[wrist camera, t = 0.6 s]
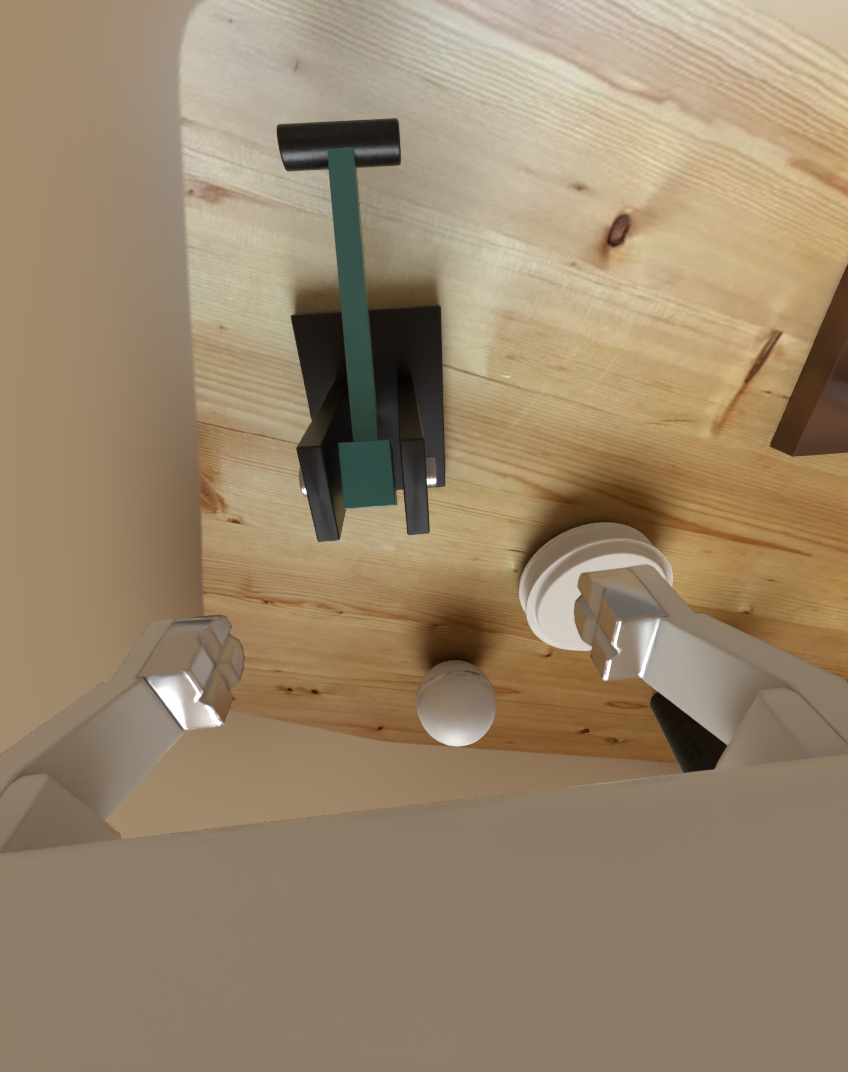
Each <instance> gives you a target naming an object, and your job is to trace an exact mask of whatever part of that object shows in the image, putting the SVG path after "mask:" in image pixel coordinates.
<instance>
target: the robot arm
mask: <svg viewBox="0 0 848 1072" xmlns="http://www.w3.org/2000/svg"><path fill="white" fill-rule="evenodd" d="M577 587H578V589H579V591H580V592H581V595H580V596H579V597H578V598H577V599H576V600H575V605H574V618H575V624H576V627H577V630H578V633H579V635H580V637H581V639H582V641H584V642H585V643H587V644H588V645H590V646H591V647H592V650H591V656H590V657H591V658H592V660H593V662H594V664H595V666H596V668H597V670H598V672H599V674H600V676H601V677H602V679H603V681H608V680H620V679H631V678H642V677H643V679H642V680H644V681H645V682H646V683H648V684H649V685H650V686H651V687H653V688H654V689H655V690H657V691H658V692H659V693H661V694H662V695H663V696H664V697H666V698H667V699H668V700H670V701H671V702H672V703H673V704H675V705H676V706H677V707H679V708H680V709H681V710H682V711H684V712H685V713H686V714H688V715H689V716H690V717H692V718H693V719H694V720H695V721H697V722H698V723H699V724H701V725H702V726H703V727H704V728H706V729H707V730H708V731H710V732H711V733H712V734H714V735H715V736H716V737H717V738H719V739H720V740H721V741H723V742H724V743H725V744H726V745H727V747H726V749H725V750H724V752H723V754H722V755H721V757H720V759H719V760H718V762H717V765H716V767H715V769H714V770H705V771H697V772H688V773H680V774H672V775H663V776H656V777H646V778H638V779H629V780H621V781H613V782H604V783H595V784H586V785H578V786H569V787H561V788H553V789H544V790H536V791H527V792H519V793H509V794H501V795H493V796H484V797H475V798H467V799H459V800H450V801H442V802H433V803H425V804H416V805H407V806H399V807H390V808H382V809H373V810H365V811H356V812H349V813H339V814H332V815H322V816H315V817H305V818H297V819H289V820H280V821H271V822H263V823H256V824H246V825H238V826H229V827H221V828H212V829H204V830H195V831H187V832H178V833H170V834H161V835H153V836H144V837H136V838H127V839H122V838H121V835H120V833H119V832H118V831H117V830H115V829H114V828H113V827H112V826H110V825H109V824H108V823H107V822H105V819H106V818H107V817H108V816H109V815H110V814H111V813H112V812H113V811H114V810H115V808H116V807H117V806H118V805H119V804H120V803H121V802H122V801H123V800H124V799H125V797H126V796H127V795H128V794H129V793H130V792H131V791H132V790H133V789H134V788H135V787H136V785H137V784H138V783H139V782H140V781H141V780H142V779H143V778H144V777H145V775H146V774H147V773H148V772H149V771H150V770H151V769H152V768H153V767H154V766H155V765H156V763H157V762H158V761H159V760H160V759H161V758H162V757H163V756H164V755H165V754H166V752H167V751H168V750H169V749H170V748H171V747H172V746H173V745H174V743H176V741H177V740H178V739H179V738H180V737H181V736H182V735H183V734H184V732H183V731H186V730H193V729H200V728H207V727H214V726H221V725H223V724H224V721H225V719H226V716H227V714H228V711H229V708H230V706H231V703H232V701H233V696H232V693H231V691H230V689H231V688H232V687H234V686H235V685H236V684H237V683H238V682H239V681H240V679H241V676H242V673H243V670H244V660H245V656H244V651H243V647H242V645H241V643H240V641H239V639H237V638H235V637H234V636H232V635H230V634H229V633H230V630H231V628H232V625H231V623H230V621H229V620H228V618H227V616H224V615H211V616H201V617H189V618H179V619H173V620H161V621H155V622H153V623H152V624H150V625H149V626H148V627H147V629H146V630H145V631H144V633H143V634H142V636H141V637H140V639H139V640H138V642H137V643H136V644H135V646H134V647H133V649H132V650H131V652H130V653H129V654H128V656H127V657H126V659H125V660H124V662H123V663H122V665H121V666H120V667H119V669H118V670H117V672H116V673H115V674H114V676H113V677H112V679H111V680H110V682H103V683H101V684H99V685H98V686H96V687H95V688H94V689H92V690H91V691H89V692H88V693H87V694H85V695H84V696H82V697H81V698H79V699H78V700H77V701H75V702H74V703H72V704H71V705H70V706H68V707H67V708H65V709H64V710H62V711H61V712H60V713H58V714H57V715H55V716H54V717H53V718H51V719H50V720H48V721H47V722H45V723H44V724H43V725H41V726H40V727H38V728H37V729H36V730H34V731H33V732H31V733H30V734H29V735H27V736H26V737H24V738H23V739H21V740H20V741H19V742H17V743H16V744H14V745H13V746H12V747H10V748H9V749H7V750H6V751H4V752H3V753H2V754H0V1072H848V682H847V681H846V680H845V679H843V678H841V677H839V676H837V675H835V674H833V673H830V672H828V671H826V670H824V669H822V668H820V667H818V666H815V665H813V664H811V663H809V662H807V661H805V660H803V659H800V658H798V657H796V656H794V655H792V654H790V653H788V652H785V651H783V650H781V649H779V648H777V647H775V646H773V645H770V644H768V643H766V642H764V641H762V640H760V639H758V638H755V637H753V636H751V635H749V634H747V633H745V632H743V631H740V630H738V629H736V628H734V627H732V626H730V625H728V624H725V623H723V622H721V621H719V620H717V619H715V618H713V617H710V616H708V615H706V614H704V613H697V614H695V612H694V611H693V610H692V609H691V608H690V607H689V606H688V605H687V604H686V602H685V601H684V600H683V599H682V598H681V597H680V596H679V595H678V594H677V592H676V591H675V590H674V589H673V588H672V587H671V586H670V585H669V584H668V582H667V581H666V580H665V579H664V578H663V577H662V576H661V575H660V574H659V572H658V571H657V570H656V569H655V568H654V567H653V566H651V565H649V564H646V565H638V566H631V567H625V568H618V569H610V570H602V571H593V572H585V573H581V575H580V576H579V579H578V585H577Z"/></svg>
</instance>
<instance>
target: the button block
mask: <svg viewBox="0 0 848 1072" xmlns="http://www.w3.org/2000/svg"><path fill="white" fill-rule="evenodd" d="M770 447H772V448H774V449H777V450H779V451H781V452H783V453H786V454H788V455H790V456H792V457H794V456H807V455H821V454H834V453H847V452H848V267H847V268H846V271H845V273H844V275H843V278H842V280H841V282H840V285H839V287H838V289H837V292H836V294H835V296H834V299H833V301H832V303H831V306H830V308H829V310H828V313H827V315H826V317H825V320H824V322H823V324H822V327H821V329H820V331H819V334H818V336H817V338H816V341H815V343H814V345H813V348H812V350H811V352H810V355H809V357H808V359H807V362H806V364H805V366H804V369H803V371H802V373H801V376H800V378H799V380H798V383H797V385H796V387H795V390H794V392H793V394H792V397H791V399H790V401H789V404H788V406H787V408H786V411H785V413H784V415H783V418H782V420H781V422H780V425H779V427H778V429H777V432H776V434H775V436H774V439H773V441H772V443H771V446H770Z"/></svg>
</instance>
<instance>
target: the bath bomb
mask: <svg viewBox="0 0 848 1072" xmlns="http://www.w3.org/2000/svg"><path fill="white" fill-rule="evenodd" d="M416 705H417V712H418V716H419V718H420V721H421V723H422V725H423V727H424V728H425V729H426V731H427V732H428V733H429V734H430V735H431V736H432V737H433V738H434V739H436V740H437V741H439V742H441V743H444V744H446V745H450V746H464V745H469V744H472V743H474V742H476V741H477V740H479V739H480V738H481V737H482V736H483V735H484V734H486V732H487V731H488V729H489V728H490V726H491V725H492V722H493V719H494V716H495V711H496V698H495V693H494V689H493V687H492V684H491V683H490V681H489V679H488V678H487V676H486V675H485V674H484V673H483V672H482V671H481V670H480V669H479V668H478V667H476V666H474V665H472V664H470V663H468V662H465V661H460V660H451V661H446V662H442V663H440V664H438V665H436V666H434V667H433V668H432V669H431V670H429V671H428V672H427V674H426V675H425V676H424V678H423V679H422V681H421V683H420V685H419V688H418V692H417V699H416Z"/></svg>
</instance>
